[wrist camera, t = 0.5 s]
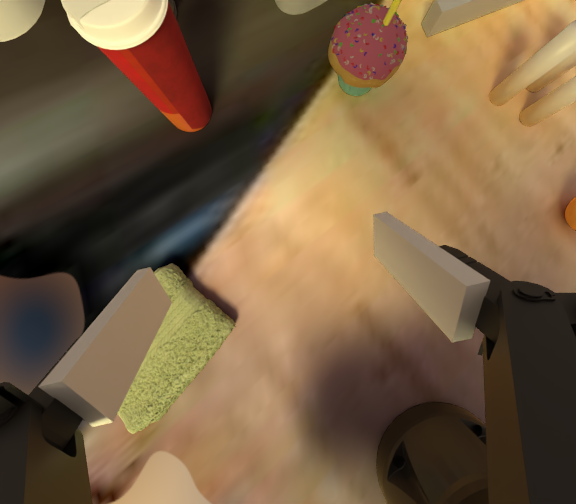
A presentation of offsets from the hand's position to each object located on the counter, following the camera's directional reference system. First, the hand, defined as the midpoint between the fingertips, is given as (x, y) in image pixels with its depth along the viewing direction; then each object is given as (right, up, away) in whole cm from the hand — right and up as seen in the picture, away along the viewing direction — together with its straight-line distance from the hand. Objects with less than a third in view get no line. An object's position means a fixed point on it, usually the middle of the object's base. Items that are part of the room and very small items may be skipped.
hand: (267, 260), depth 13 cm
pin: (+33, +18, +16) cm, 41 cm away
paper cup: (-12, +19, +17) cm, 28 cm away
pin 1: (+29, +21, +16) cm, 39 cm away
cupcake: (+10, +23, +17) cm, 30 cm away
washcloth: (-15, -11, +16) cm, 25 cm away
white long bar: (+27, +33, +17) cm, 46 cm away
